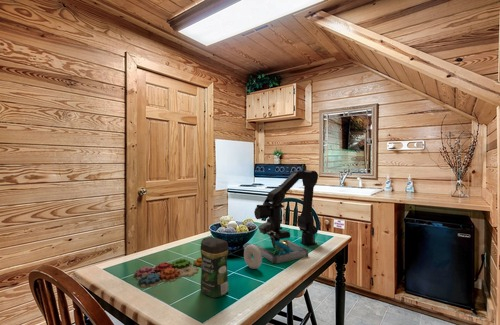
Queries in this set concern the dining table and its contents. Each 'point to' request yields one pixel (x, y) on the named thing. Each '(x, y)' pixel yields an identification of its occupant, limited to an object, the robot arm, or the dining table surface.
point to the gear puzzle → (166, 272)
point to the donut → (256, 253)
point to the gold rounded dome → (284, 241)
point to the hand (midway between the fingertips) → (274, 247)
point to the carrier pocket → (298, 253)
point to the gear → (281, 248)
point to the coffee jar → (214, 267)
